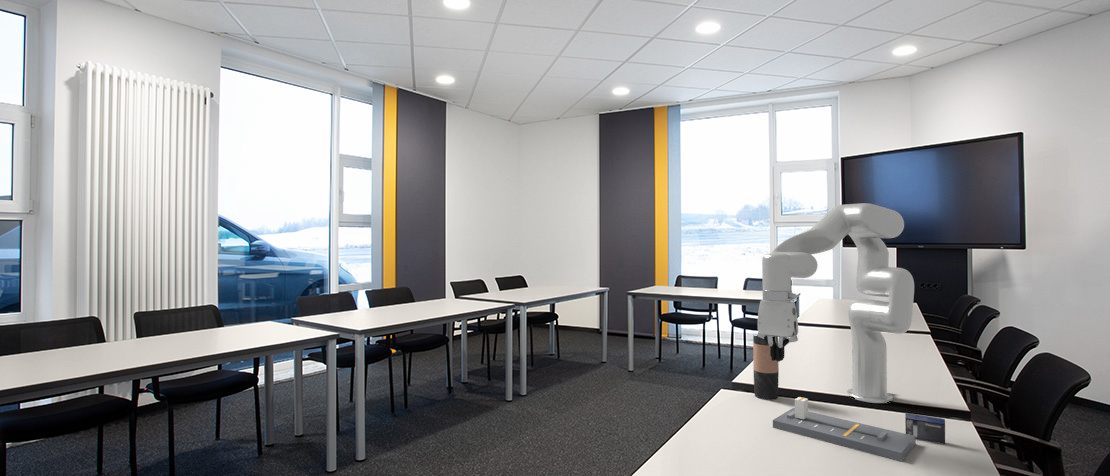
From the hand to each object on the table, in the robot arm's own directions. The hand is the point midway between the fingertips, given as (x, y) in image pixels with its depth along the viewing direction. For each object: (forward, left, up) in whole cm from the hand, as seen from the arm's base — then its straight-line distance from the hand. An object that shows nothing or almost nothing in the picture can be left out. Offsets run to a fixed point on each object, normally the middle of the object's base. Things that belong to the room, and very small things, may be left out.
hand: (777, 360), depth 146 cm
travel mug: (-18, -11, -17) cm, 27 cm away
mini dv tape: (-12, +33, -17) cm, 39 cm away
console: (0, +17, -17) cm, 24 cm away
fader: (0, +6, -15) cm, 16 cm away
